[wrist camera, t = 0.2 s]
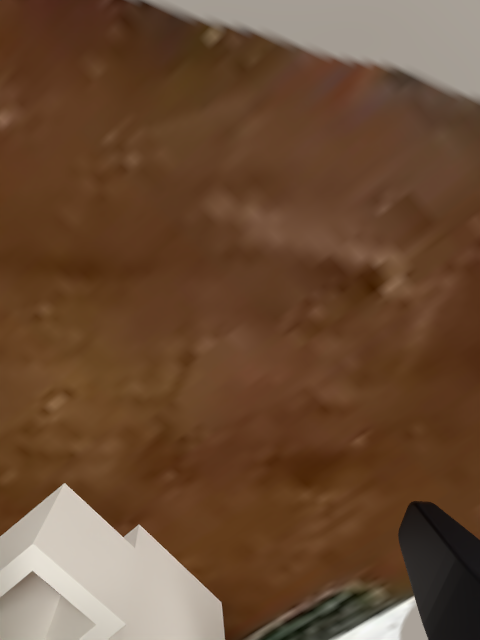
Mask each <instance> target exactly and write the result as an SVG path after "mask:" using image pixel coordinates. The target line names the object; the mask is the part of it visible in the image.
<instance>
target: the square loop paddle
mask: <svg viewBox="0 0 480 640" xmlns="http://www.w3.org/2000/svg"><path fill="white" fill-rule="evenodd" d="M34 572H35V573H36V574H37V575H38V576H37V575H36V574H35V573H34ZM40 577H41V578H42V579H43V580H44V581H43V580H42V579H41V578H40ZM47 583H48V584H49V585H50V586H51V587H50V586H49V585H48V584H47ZM53 588H54V589H55V590H56V591H57V592H56V591H55V590H54V589H53ZM60 594H61V595H60ZM0 640H225V634H224V623H223V613H222V603H221V602H220V601H219V600H218V599H217V598H216V597H215V596H214V595H213V594H212V593H211V592H210V591H209V590H208V589H207V588H206V587H205V586H204V585H202V584H201V583H200V582H199V581H198V580H197V579H196V578H195V577H194V576H193V575H192V574H191V573H190V572H189V571H188V570H187V569H186V568H185V567H184V566H182V565H181V564H180V563H179V562H178V561H177V560H176V559H175V558H174V557H173V556H172V555H171V554H170V553H169V552H168V551H167V550H166V549H165V548H163V547H162V546H161V545H160V544H159V543H158V542H157V541H156V540H155V539H154V538H153V537H152V536H151V535H150V534H149V533H148V532H147V531H146V530H145V529H143V528H142V527H141V526H140V525H138V526H137V527H135V528H134V529H133V530H132V531H130V532H129V533H128V534H127V535H126V536H124V537H122V536H121V535H120V534H119V533H118V532H117V531H116V530H115V529H114V528H112V527H111V526H110V525H109V524H108V523H107V522H106V521H105V520H104V519H103V518H102V517H101V516H100V515H98V514H97V513H96V512H95V511H94V510H93V509H92V508H91V507H90V506H89V505H88V504H87V503H86V502H84V501H83V500H82V499H81V498H80V497H79V496H78V495H77V494H76V493H75V492H74V491H73V490H72V489H70V488H69V487H68V486H67V485H66V484H65V483H64V484H63V485H62V486H61V487H59V488H58V489H57V490H56V491H55V492H53V493H52V494H51V495H50V496H49V497H47V498H46V499H45V500H44V501H43V502H41V503H40V504H39V505H38V506H37V507H35V508H34V509H33V510H32V511H31V512H29V513H28V514H27V515H26V516H25V517H23V518H22V519H21V520H20V521H19V522H17V523H16V524H15V525H14V526H12V527H11V528H10V529H9V530H8V531H6V532H5V533H4V534H3V535H2V536H0Z"/></svg>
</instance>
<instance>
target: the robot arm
mask: <svg viewBox="0 0 480 640" xmlns="http://www.w3.org/2000/svg"><path fill="white" fill-rule="evenodd" d="M398 536H399V544H400V547H401V551H402V554H403V558H404V561H405V565H406V568H407V572H408V575H409V579H410V582H411V586H412V589H413V593H414V596H415V600H416V603H417V607H418V610H419V613H420V616H421V619H422V623H423V626H424V628H425V631H426V634H427V637H428V640H480V540H479V539H478V538H476V537H475V536H474V535H473V534H471V533H470V532H469V531H468V530H466V529H465V528H464V527H463V526H461V525H460V524H459V523H458V522H456V521H455V520H454V519H453V518H451V517H450V516H449V515H448V514H446V513H445V512H444V511H443V510H441V509H440V508H439V507H438V506H436V505H435V504H433V503H431V502H422V501H413V502H411V503H410V504H409V506H408V508H407V510H406V513H405V516H404V518H403V521H402V523H401V526H400V528H399V534H398Z"/></svg>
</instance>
